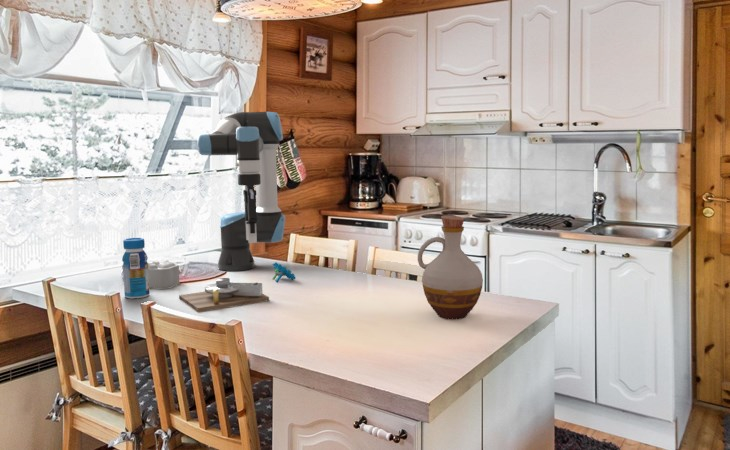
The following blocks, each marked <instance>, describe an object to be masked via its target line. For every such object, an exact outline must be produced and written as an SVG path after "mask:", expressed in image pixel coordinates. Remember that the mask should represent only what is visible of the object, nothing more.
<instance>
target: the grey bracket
mask: <svg viewBox="0 0 730 450" xmlns="http://www.w3.org/2000/svg"><path fill="white" fill-rule="evenodd" d="M215 280H216V281H215V282H216V283H211V284H207V285H205V286H204V292H206V293H209V294H213V290H218V294H230V293H233V294H234V295H255V296H260V295H261V294H263V283H262V282H232V281H231V280H230V278H229V277H220V278H216V279H215ZM230 281H231V282H230Z"/></svg>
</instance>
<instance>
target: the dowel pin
mask: <svg viewBox="0 0 730 450" xmlns="http://www.w3.org/2000/svg"><path fill="white" fill-rule="evenodd" d="M213 298H214V304H215V305H217V304H219V294H218V290H213Z"/></svg>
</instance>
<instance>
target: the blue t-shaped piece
mask: <svg viewBox="0 0 730 450" xmlns="http://www.w3.org/2000/svg"><path fill="white" fill-rule="evenodd" d="M272 266H273V268H274V269H275V270H274V276H273V277H272V280H273V281H275V282H276V283H279V281H281V279H282V278H283V277H286V278H287V279H289V280H292V281H293V280H296V278H297V277H296V275H295V274H294V273H292V270H290V269H287V267H286V266H285V265H282V264H281V263H278V262H273V264H272ZM277 276H278V277H277ZM275 279H276V280H275Z"/></svg>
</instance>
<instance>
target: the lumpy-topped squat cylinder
mask: <svg viewBox="0 0 730 450" xmlns="http://www.w3.org/2000/svg"><path fill="white" fill-rule="evenodd" d="M147 263H148V265H149V267H148V273H149V289H159V290H161V289H162V290H163V289H164V290H165V289H171V288H173V287H176V286H179V285H180V266H179V264H178V263H174V262H172V261H169V260H167V259H166V260H162V261H161V262H159V261H158V260H155V261H151V262H147Z"/></svg>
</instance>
